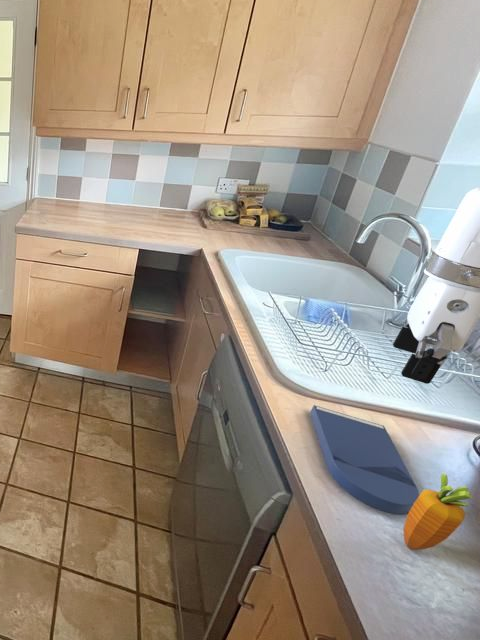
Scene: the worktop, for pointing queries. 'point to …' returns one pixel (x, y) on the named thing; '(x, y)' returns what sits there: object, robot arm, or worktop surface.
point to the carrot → (434, 516)
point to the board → (364, 461)
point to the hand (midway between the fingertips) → (409, 363)
